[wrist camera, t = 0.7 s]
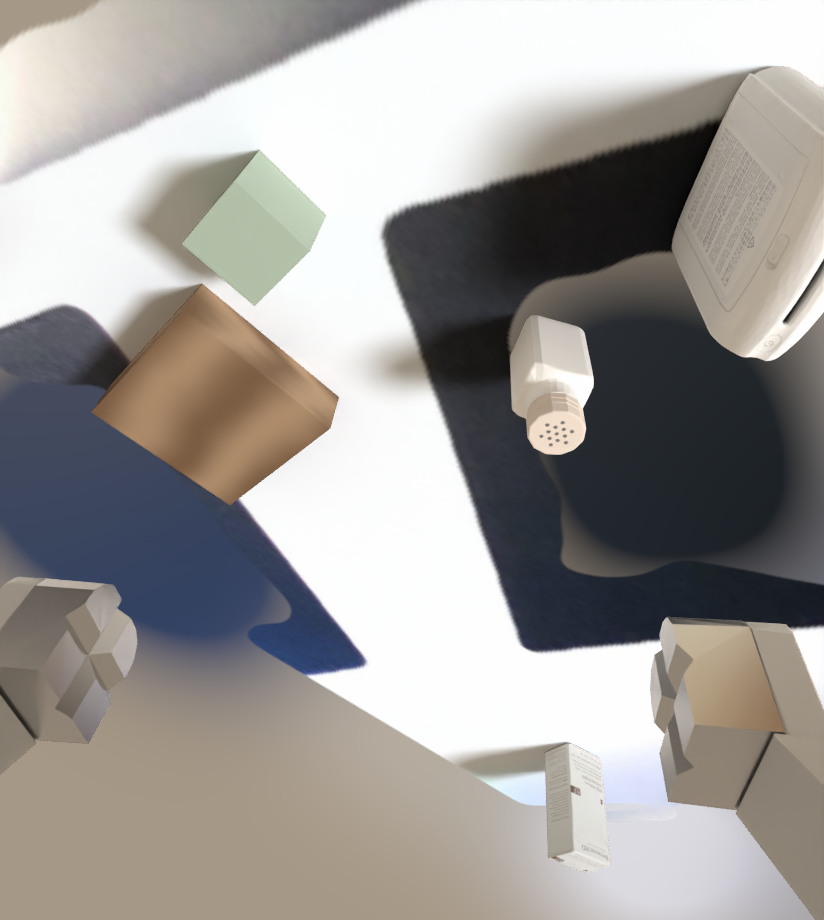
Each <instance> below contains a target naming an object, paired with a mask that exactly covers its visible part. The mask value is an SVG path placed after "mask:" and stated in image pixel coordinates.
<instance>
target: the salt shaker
mask: <svg viewBox="0 0 824 920" xmlns="http://www.w3.org/2000/svg"><path fill="white" fill-rule="evenodd" d="M510 372H511V395H512V410H513V411H514V412H515V413H516V414H517V415H518V416H521V417H523V418H526V422H527V436H528V439H529V441H530V442H531V444H532V446H533V447H534V448H535V449H537V450H539V451H541V452H543V453H545V454H558V455H559V454H563V453H566V452H569V451H572V450H574V449H575V448H576V447H577V446H578V445H579V444H580V443H581V442H582V441H583V440H584V436H585V431H586V425H585V421H584V414H583V409H582V408H583V406H584V405H585V403H586V401H587V399H588V397H589V395H590V393H591V390H592V388H593V373H592V368H591V363H590V358H589V354H588V348H587V344H586V339H585V334H584V331H583V330H582V329H580V328H579V327H577V326H574V325H571V324H567V323H563V322H560V321H556V320H553V319H549V318H546V317H542V316H539V315H530V317H529V318H528V319H527V320H526V321H525V323H524V325H523V327H522V330H521V332H520V335H519V337H518V339H517V341H516V344H515V346H514V348H513V351H512V353H511V355H510Z"/></svg>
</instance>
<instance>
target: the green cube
mask: <svg viewBox="0 0 824 920" xmlns="http://www.w3.org/2000/svg"><path fill="white" fill-rule="evenodd" d="M325 217H326V215H325V214H324V213H323V212H322V211H321V210H320V209H319V208H318V207H317V206H316V205H315V204H314V203H313V202H312V201H311V200H310V199H309V198H308V197H307V196H306V195H305V194H304V193H303V192H302V191H301V190H300V189H299V188H298V187H297V186H296V185H295V184H294V183H293V182H292V181H291V180H290V179H289V178H288V177H287V176H286V175H285V174H284V173H283V172H282V171H281V170H280V169H279V168H278V167H277V166H276V165H275V164H274V163H273V162H272V161H270V160H269V159H268V158H267V157H266V156H265V155H264V154H263V153H262V152H261V151H260V150H259V151H258V152H257V154H256V155H255V156H254V157H253V158H252V160H251V161H250V162H249V163H248V164H247V165H246V167H245V168H244V169H243V170H242V171H241V173H240V174H239V175H238V176H237V177H236V179H235V180H234V181H233V182H232V183H231V184H230V186H229V187H228V188H227V189H226V190H225V192H224V193H223V194H222V195H221V196H220V198H219V199H218V200H217V201H216V202H215V204H214V205H213V206H212V207H211V208H210V209H209V211H208V212H207V213H206V214H205V216H204V217H203V218H202V219H201V221H200V222H199V223H198V224H197V226H196V227H195V228H194V229H193V231H192V232H191V233H190V234H189V236H188V237H187V238H186V239H185V241H184V242H183V243H182V245H183V246H185V247H186V248H187V249H188V250H189V251H190V252H192V253H193V254H194V255H195V256H196V257H197V258H199V259H200V260H201V261H202V262H203V263H205V264H206V265H207V266H208V267H209V268H210V269H212V270H213V271H214V272H215V273H216V274H217V275H219V276H220V277H221V278H222V279H223V280H224V281H226V282H227V283H228V284H229V285H230V286H232V287H233V288H234V289H235V290H236V291H237V292H239V293H240V294H241V295H242V296H243V297H244V298H246V299H247V300H248V301H249V302H250V303H252V304H253V305H254V306H255V305H256V304H257V303H258V302H259V301H260V300H261V299H262V298H263V297H264V296H265V295H266V294H267V293H268V292H269V291H270V290H271V289H272V288H273V287H274V286H275V285H276V284H277V283H278V282H279V281H280V280H281V279H282V278H283V277H284V276H285V275H286V274H287V273H288V272H289V271H290V270H291V269H292V268H293V267H294V266H295V265H296V264H297V263H298V262H299V261H300V260H301V259H302V258H303V257H304V256H305V255H306V254H307V253H308V252H309V251H310V249H311V247H312V245H313V243H314V241H315V239H316V236H317V234H318V232H319V230H320V228H321V226H322V223H323V221H324V219H325Z"/></svg>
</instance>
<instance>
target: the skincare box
mask: <svg viewBox="0 0 824 920" xmlns="http://www.w3.org/2000/svg"><path fill="white" fill-rule="evenodd" d="M545 775H546V808H547V840H548V841H547V842H548V858H550V859H552V860H555V861H557V862H559V863H561V864H563V865H564V866H567V867H569V868H573V869H576V870H578V871H580V872H583V873H588V872H592V871H595V870H599V869H602V868H605V867H608V866H610V865H611V859H610V849H609V838H608V827H607V817H606V808H605V796H604V786H603V775H602V765H601V760H600V758H598V757H596V756H594V755H593V754H591V753H589V752H587V751H585V750H583V749H581V748H579V747H577V746H575V745H573V744H570V743H566V744H563V745H561V746H558V747H556V748H553V749H551V750H549V751H547V752H546V753H545Z"/></svg>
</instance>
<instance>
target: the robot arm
mask: <svg viewBox="0 0 824 920" xmlns="http://www.w3.org/2000/svg"><path fill="white" fill-rule="evenodd" d="M120 602H121V598H120V596H119V594H118V592H117V591H116V589H115V587H114V585H109V584H100V583H89V582H78V581H66V580H56V579H43V578H29V577H16V578H14V579H12V580H11V581H9V582H7V583H5V585H4V586H3V587H2V588H1V590H0V775H1V774H2V773H3V772H4V771H5V770H6V769H7V768H9V767H10V766H11V765H12V764H13V763H14V762H16V761H17V760H18V759H19V758H20V757H21V756H22V755H24V754H25V753H26V752H27V751H28V750H30V749H31V748H32V747H33V746H34V745H35V744H36V741H35V740H38V741H39V740H40V741H53V742H67V743H82V744H89V742H90V740H91V738H92V737H93V735H94V733H95V731H96V729H97V728H98V726H99V724H100V722H101V720H102V718H103V717H104V715H105V713H106V711H107V709H108V708H109V706H110V697H109V691H108V690H109V689H111V688H112V687H113V686H115V685H116V684H117V683H119V682H120V681H122V680H123V679H124V678H125V677H126V675H127V673H128V671H129V669H130V667H131V665H132V663H133V661H134V656H135V651H136V647H137V636H136V629H135V627H134V625H133V622H132V620H131V618H129V617H128V616H127V615H125V614H124V613H123V612H121V611H120V610H118V609H117V607H118V605H119V604H120ZM660 639H661V645H662V650H661V651H660V652H658V653H657V654H655V655H654V660H653V664H652V669H651V686H650V691H651V703H652V710H653V717H654V722H655V724H656V725H657V726H658V727H659V728H660V729H661V730H662V731H663V733H664V734H665V736H664V740H663V743H662V747H661V750H660V758H661V764H662V769H663V775H664V781H665V786H666V792H667V797H668V802H675V803H683V804H691V805H699V806H707V807H715V808H723V809H731V810H737V812H736V814H737V816H738V817H739V819H740V820H741V821H742V822H743V824H744V825H745V827H746V828H747V829H748V831H749V832H750V833H751V835H752V836H753V837H754V839H755V840H756V841H757V843H758V844H759V845H760V847H761V848H762V849H763V851H764V852H765V853H766V855H767V856H768V857H769V859H770V860H771V861H772V863H773V864H774V865H775V867H776V868H777V869H778V871H779V872H780V873H781V875H782V876H783V877H784V879H785V880H786V881H787V883H788V884H789V885H790V887H791V888H792V889H793V891H794V892H795V893H796V895H797V896H798V897H799V899H800V900H801V901H802V903H803V904H804V905H805V906H806V908H807V909H808V911H809V912H810V913H811V915H812V916H813V917H814V919H815V920H824V709H823V706H822V704H821V701H820V699H819V696H818V694H817V691H816V689H815V686H814V684H813V681H812V679H811V676H810V674H809V671H808V669H807V666H806V664H805V661H804V659H803V657H802V654H801V652H800V649H799V647H798V644H797V642H796V639H795V637H794V634H793V632H792V630H791V629H790V628H789V627H788V626H787V625H786V624H773V623H756V622H742V621H733V620H713V619H692V618H672V617H667V618H666V619H665V620H664V622H663V624H662V628H661V631H660Z"/></svg>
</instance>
